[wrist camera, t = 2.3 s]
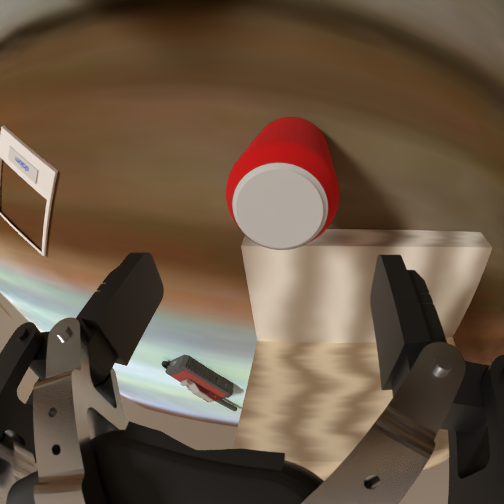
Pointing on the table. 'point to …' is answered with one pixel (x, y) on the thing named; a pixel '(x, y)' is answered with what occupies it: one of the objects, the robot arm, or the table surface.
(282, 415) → the counter stand
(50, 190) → the photo frame
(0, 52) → the table surface
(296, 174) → the beverage can
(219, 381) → the walkie-talkie
